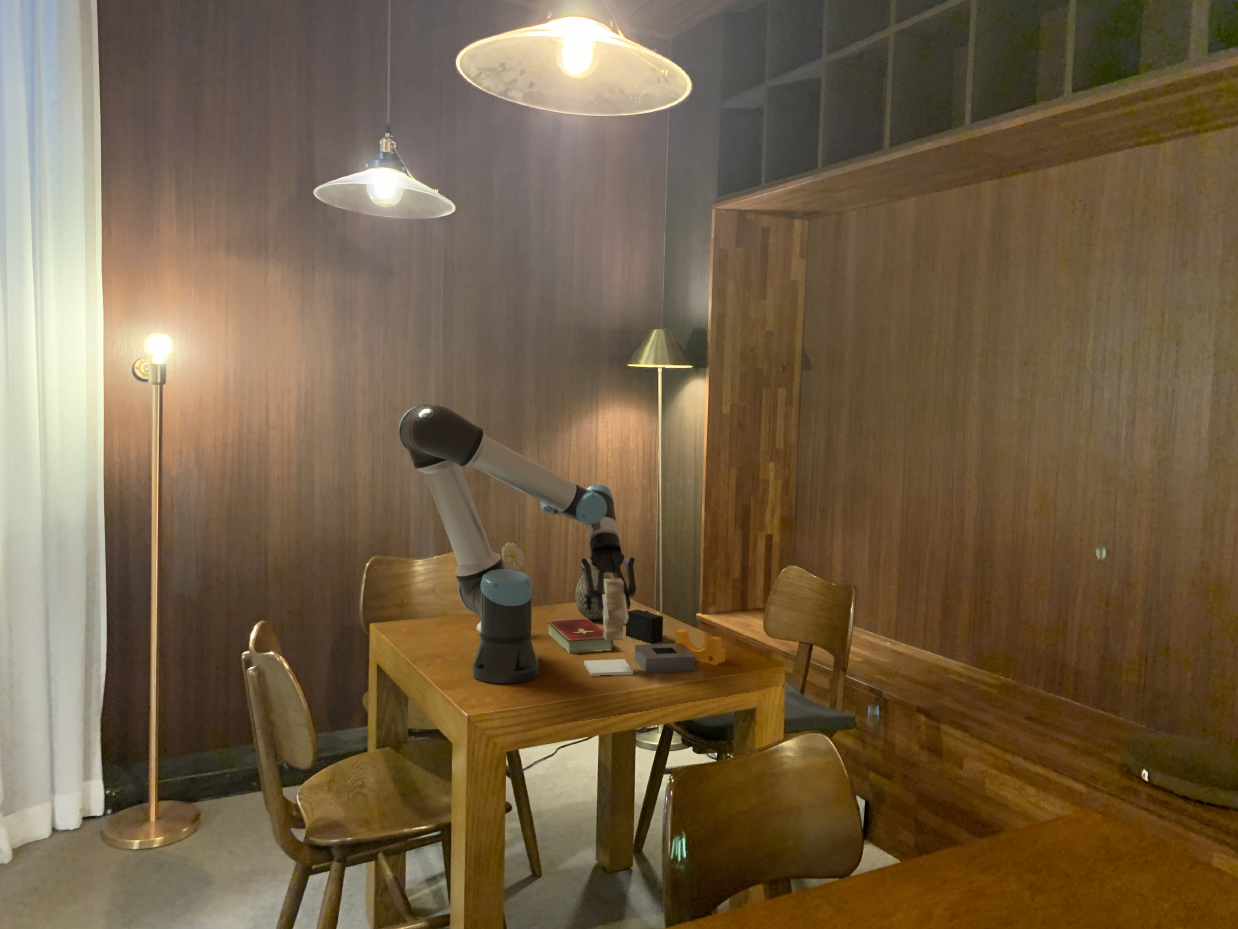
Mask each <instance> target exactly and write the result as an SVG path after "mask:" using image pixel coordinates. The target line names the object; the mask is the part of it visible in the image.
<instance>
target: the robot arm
mask: <svg viewBox="0 0 1238 929" xmlns="http://www.w3.org/2000/svg"><path fill="white" fill-rule="evenodd" d="M398 436H399V439H400V442H401V444H402V446H403V447H404V448H405V449H406V450H407V451H408V453H409V455H410V458H411V461H412V463H413V467H414V470H416V471H419V472H421V473H423V474H424V477H425V480H426V482H427V484H428V488H429V489H430V492H431V495H432V498H433V501H434V503H435V505H436V509H437V511H438V514H439V516H440V519H441V521H442V524H443V527H444V530H445V531H446V532H445V533H446V535H447V537H448V541H449V543H450V546H451V549H452V551H453V553H454V556H455V560H456V562H457V566H456V569H455V571H454V574H455V576H456V579H457V582H458V595H459V597H460V599H461V601H462V603H463V604H464V607H466V608H467V609H468V610H469V611H471V612H472V613H474V614H475V615H477V616H478V617H480V622H481V633H480V642H479V645H478V649H477V652H476V655H475V658H474V660H473V664H472V676H473V677H474V678H475V679H476V678H477V680H479V681H482V682H485V683H493V684H514V683H515V684H516V683H521V682H527V681H531V680H532V679H534V678H537V676H538V675H539V661H538V658H537V655H536V652H535V649H534V646H533V643H532V621H533V620H532V618H533V617H532V616H533V614H532V613H533V610H532V609H533V593H534V591H533V584H532V579H531V578H530V576H529V575H528V574H526V573H525V572H522V571H520V570H515V569H512V570H509V569H510V568H509V569H507V568H506V569H505V567H506V566H505V565H504V561H503V560H502V555H500V554H499V553H496V552H495V551H493V550H492V548H491V545H490V542H489V540H488V536H487V534H486V531H485V529H484V526H483V524H482V520H481V518H480V515H479V512H478V510H477V508H476V504H475V501H474V498H473V496H472V493H471V490H470V488H469V484H468V482H467V480H466V478H465V475H464V472H463V471H464V470H463V469H462V468H467V467H469V466H470V467H472V468H474V469H476V470H477V471H480V472H482V473H484V474H486V475H488V476H490V477H491V478H494V479H496V480H498V481H500V482H502V483H503V484H506V485H508V486H509V487H511V488H513V489H514V490H517V491H520V492H521V493H523V494H525V495H527V496H529V497H531V498H532V499H535V500H537V501H539V502H540V504H539V505H540V508H541V510H542V511H543V512H544V513H548V514H551V515H556V516H561V517H564V518H568V519H571V520H575V521H578V522H580V523H583V524H585V525H586V527H587V534H588V540H589V549H590V557H588V558H587V559H586V558H585V557H583V558H581V560H580V561H581V562H580V568H581V569H582V572H583V574H584V575H585V581H586V587H587V592H588V597H589V598H592V597H593V598H596V599H595V600H596V601H597V607H598V610H602V613H603V618H602V620H604V624H607V623H608V619H609V616H608V609H607V602H606V595H605V594H602V589H603V578H604V573H607V574H608V573H611V574H612V576H613V577H614V578H620V579H621V580H622V581H623V582H624V591H623V624H626V623H627V621H628V618H629V616H628V611H630V608H631V605H632V604H631V598H632V597H635V594H636V592H637V591H636V590H637V587H636V586H637V585H636V577H635V571H634V564H635V558H634V557H633V556H632V557H625V555H624V554H623V552H622V547H621V540H620V534H619V529H618V523H617V516H616V511H615V501H614V498H613V494H612V492H611V489H609V487H607V486H606V485H603V484H597V485H596V484H593V485H590V486H588V487H586V488H583V487H582V486H580V485H578V484H577V483H575V482H573V481H571V480H569V479H568V478H565V477H563V476H561V474H560V475H559V474H558V473H555V471H552V470H550V469H548V468H547V467H545V466H543V465H541V464H539V463H537V462H536V461H534V460H532V459H530V458H528V457H527V456H524V455H523V454H521V453H519V452H517V451H515V450H513V449H511V448H509V447H507V446H506V445H504V444H502V443H500V442H498V441H496V440H495V439H493V438H490V437H489V436H487V435H486V433H485V430H484V429H483V428H481V427H480V426H477V425H476V424H474V423H473V422H472V421H469V420H468V419H466V418H464V417H463V416H462V415H460V414H459V413H457V412H455V411H454V410H453V409H451V408H449V407H446V406H444V405H435V404H425V403H423V404H421V405H416V406H414V407H412V408H410V409H409V410H407V411H406V412H405V413H404V414H403V416H401V419H400V421H399V424H398ZM622 564H624V567H625V568H626V576H627V582H628V583H626V581H625V577H624V575H623V572H622V570H621V566H622ZM591 566H594V567H595V569H598V581H597V591H596V590H594V585H593V580H592V574H591ZM627 584H628V585H627ZM630 597H631V598H630Z"/></svg>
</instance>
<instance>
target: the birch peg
mask: <svg viewBox="0 0 1238 929" xmlns="http://www.w3.org/2000/svg"><path fill="white" fill-rule="evenodd" d="M623 591H624V582H623V581H622V580H621V579H620V578H615V577H614V578H611V579H604V594H605V595H606V602H607V609H608V616H609V619H608V623H607V624H604V620H603V619H602V620H603V622H602V625H603V626H602V630H603V637H604V638H605V640H606V641H613V642H614V641H624V622H623Z"/></svg>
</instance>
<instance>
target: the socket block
mask: <svg viewBox="0 0 1238 929" xmlns="http://www.w3.org/2000/svg"><path fill="white" fill-rule="evenodd" d="M634 660H635V662H637V664H638V665H639V666H640V668H641V669H642V670H643V672H645V674H658V673H659V674H660V673H662V674H663V673H682V672H684V673H685V672H696V660H695V656H694V655H693V654H692V653H691V652H690V651H689V650H688V649H687V648H686V647H685V646H684V645H683V644H682V643H676V642H675V643H654V644H649V643H647V644H634Z"/></svg>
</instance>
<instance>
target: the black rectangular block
mask: <svg viewBox="0 0 1238 929" xmlns="http://www.w3.org/2000/svg"><path fill="white" fill-rule="evenodd" d="M628 616H629V618H628V621H627V623H625V637H627V636H629V637H628V638H630V637H631V639H633V638H634V640H637V641H640V640H641V641H640V642H642V643H645V644H646V643H647V644H649V643H650V644H653V643H654V644H659V643H662V642H663V635H664V631H663V630H664V627H663V626H664V616H663V615H658V614H655V613H651V612H650V611H649V610H642V609H639V608H638V609H632V610H628ZM658 642H659V643H658Z"/></svg>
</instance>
